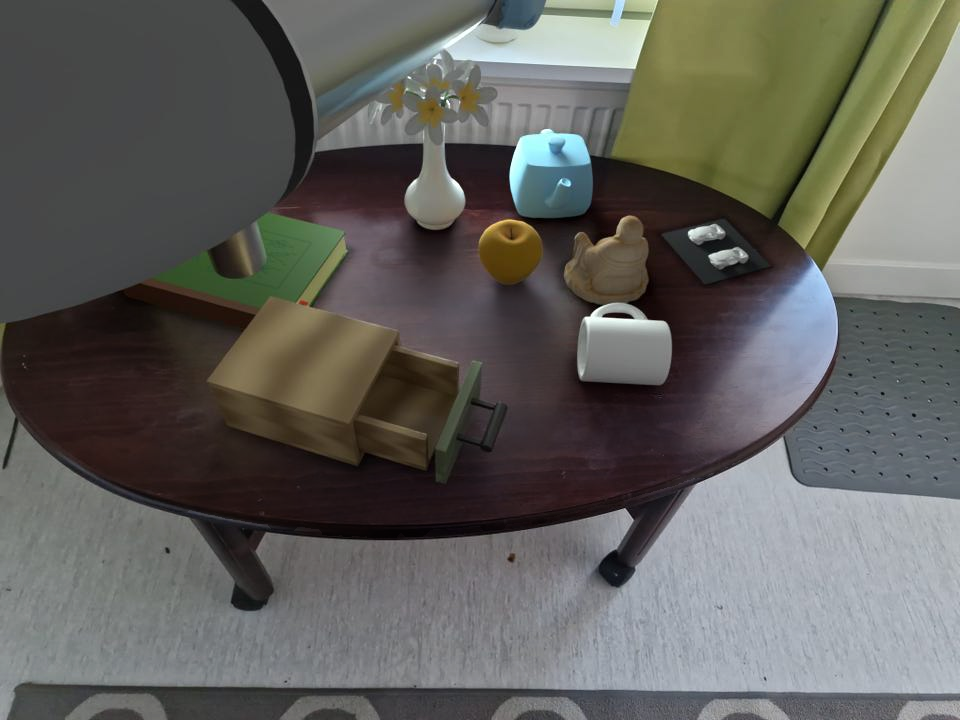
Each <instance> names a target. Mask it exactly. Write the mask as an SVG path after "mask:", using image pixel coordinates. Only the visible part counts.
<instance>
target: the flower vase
mask: <svg viewBox="0 0 960 720" xmlns="http://www.w3.org/2000/svg"><path fill="white" fill-rule="evenodd" d="M439 55H440V59H441V62H442V65H443V66H442V65H440V64H437V59H434V60H432V61H431V62H430V63H428V64H427V63H425V64H424V65H422V66H421V67H420V68H418V69H417V70H416V71H414V73H411V74H410V75H409V76H407V77H406V78H404V79H403V80H402V81H400V82H399V83H397V84H396V85H395V86H393V87H392V88H390V89H389V90H388V91H386V92H385V93H384V94H382V95H381V96H379V97H378V98H377V99H375V100H374V101H372V102H371V103H370V104H368V108H367V122H368V124H369V125H372V124H373V122H374V120H375V117H376V115H377V112H378V113H380V112H381V111H382V113H381V116H380V125H381V127H384V126H386V125H387V124H388V122H389V121H390V120H391V119H392V117H393V116H394V115H395V116H396V118H397V119H399V120H401V119H402V118H403V116H404V113H405V108H406V109H407V110H409V111H411V112H412V113H414V115H412V116H411V117H410V118H409V119H408V120H407V122H406V123H405V125H404V129H403V131H404V133H405V135H407V136H415V135H417V134H419V133H421V132H422V137H423V138H422V142H423V143H422V165H421V171H420V173H419V175H418V177H416V179H413V181H412V182H411V183H410V185H408V187H407V189H406V192H405V194H404V198H403V199H404V202H403V203H404V207H405V210H406V211H407V213H408V214H409V215H410V216H411V217H412V218H413V219H414V220H416V222H417V224H418V225H419V226H420V227H422V228H424V229H427V230H432V231H439V230H444V229H447V228H449V227H450V226H452V224H453V223H454V222H455V220H456V219H457V218H459V217H460V215H461V214H462V213H463V212H464V209H465V207H466V206H465V205H466V203H467V202H466V195H465V193H464V190H463V189H462V187H461V185H460V184H459V183H458V182H457V181H456V180H455V179H454V178H452V177H451V175H450V173H449V171H448V168H447V163H446V148H445V129H446V128H445V127H446V124H454V123H456V122H457V121H458V122H459V123H461V124H464V123H466V122H468V120H469V119H470V115H472V116H473V118H474V119H475V121H476V122H477V124H479V125H480V126H482V127H483V128H487V127H488V126H489V123H490V121H489V115H488V113H487V111H486V109H485V108H484V106H482V105H486V104H490V103H492V102H494V101H495V100H496V99H497V98H498V93H499V92H498V90H497V89H496V88H495V87H493V86H489V85H488V86H484V85H483V83H482V82H481V79H482V71H481V66H480V65H479V64H476V62H475V61H474V60H472V59H464V60H462V61H461V62H459V63H458V64H457V65H456V63H455V60H454V58H453V56H452V55H451V53H450V52H449V51H448V50H446V49H445V50H443V51H442V52H441V53H439ZM451 92H454V94H450V93H451ZM418 93H424V97H423V96H422V95H420V94H418ZM441 95H443V97H442V96H441ZM449 99H453V100H458V101H459V106H458V109H457V111H456V110H454V109H453V108H451V105H450V103H449V101H448V100H449ZM382 105H386V106H385V108H384V109H383V110H382ZM415 113H416V114H415Z"/></svg>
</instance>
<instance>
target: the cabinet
mask: <svg viewBox="0 0 960 720" xmlns="http://www.w3.org/2000/svg"><path fill="white" fill-rule="evenodd" d="M400 336H401V335H400V330H397V329H393V328H389V327H385V326H382V325H378V324H375V323H371V322H367V321H364V320H361V319H356V318H352V317H348V316H345V315H341V314H338V313H334V312H330V311H326V310H323V309H318V308H316V307H312V306H311V307H308V306H304V305H301V304H297V303H293V302H289V301H286V300H282V299H278V298H275V297H271V296H270V297H269V299H268V300H267V301H266V303H265V304H264V305H263V307H262V308H261V309H260V311H259V312H258V313H257V315H256V316H255V317H254V319H253V320H252V321H251V323H250V324H249V325H248V327H247V328H246V329H245V330H244V331H243V332H242V333H241V334H240V336H239V337H238V338H237V339H236V341H235V342H234V344H233V345H232V346H231V348H230V349H229V350H228V352H227V353H226V355H224V356H223V358H222V359H221V361H220V362H219V363H218V365H217V366H216V368H214V370H213V372H212V373H211V374H210V375H209V377H208V378H207V379H206V384H207V386H208V388H209V390H210V392H211V394H212V396H213V399H214V400H215V403H216V405H217V407H218V409H219V411H220V413H221V415H222V418H223V420H224V421H225V423H226V425H227V427H230V428H233V429H236V430H240V431H242V432H245V433H249V434H253V435H256V436H260V437H262V438H265V439H269V440H272V441H275V442H278V443H282V444H285V445H288V446H291V447H294V448H298V449H301V450H305V451H308V452H311V453H314V454H317V455H320V456H324V457H327V458H331V459H333V460H336V461H340V462H343V463H346V464H349V465H353V466H356V467H358V466H359V465H360V463H361V461H362V459H363V457H364V455H365V453H366V452H363V451H359V450H358V445H357V440H356V435H355V430H354V425H353V421H354V419H355V418H356V416H357V414H358V412H359V410H360V408H361V406H362V405H363V403H364V401H365V399H366V397H367V395H368V393H369V392H370V390H371V388H372V386H373V384H374V382H375V380H376V379H377V377H378V375H379V373H380V371H381V369H382V367H383V366H384V364H385V362H386V360H387V358H388V356H389V354H390V353H391V351H392V349H393V347H394V345H396V346H399V347H401V337H400Z"/></svg>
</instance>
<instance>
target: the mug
mask: <svg viewBox="0 0 960 720" xmlns="http://www.w3.org/2000/svg"><path fill="white" fill-rule="evenodd" d="M610 313H611V314H612V313H613V314H614V313H617V314H619V313H621V314H627V315H629V316H631V317H632V318H616V317H603V316H604V315H606V314H610ZM576 351H577V352H576V354H577V357H576V358H577V359H576V363H577V364H576V365H577V374H578V378H579V380H580V381H581V382H591V383H609V384H610V383H612V384H629V385H646V386H661V385H663V384H664V383H665V382H666V380H667V378H668V375H669V373H670V369H671V364H672V355H673V354H672V353H673V339H672V332H671V329H670V325H669V324H668V323H667V321H664V320H652V319H648V317H647V316H646V314H645V313H644V312H643V311H642V310H640V309H639V308H638V307H636V306H634V305H632V304H629V303H612V304H607V305H602V306H600V307H598V308H596V309H595V310H594V311H593V312H592V313H591V314H590V316H584V317H583V318H582V320H581V323H580V328H579V332H578V339H577V350H576Z"/></svg>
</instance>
